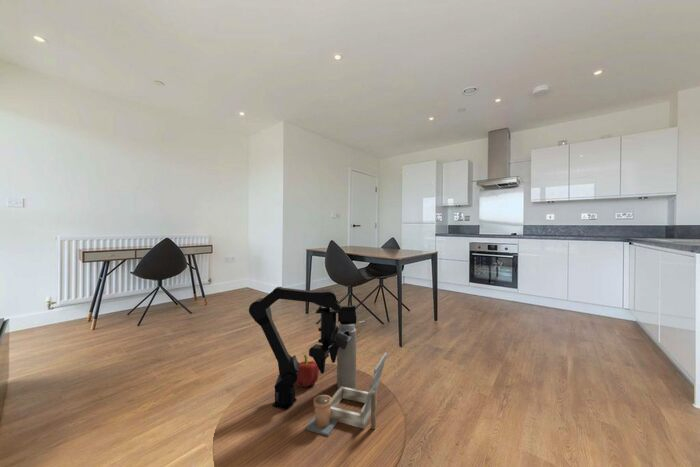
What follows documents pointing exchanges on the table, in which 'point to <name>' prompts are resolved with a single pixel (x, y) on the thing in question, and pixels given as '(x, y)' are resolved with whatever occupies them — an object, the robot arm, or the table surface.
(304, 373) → the vegetable
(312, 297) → the robot arm
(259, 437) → the table surface
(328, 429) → the pad
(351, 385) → the thermos bottle
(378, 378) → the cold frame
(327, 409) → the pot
